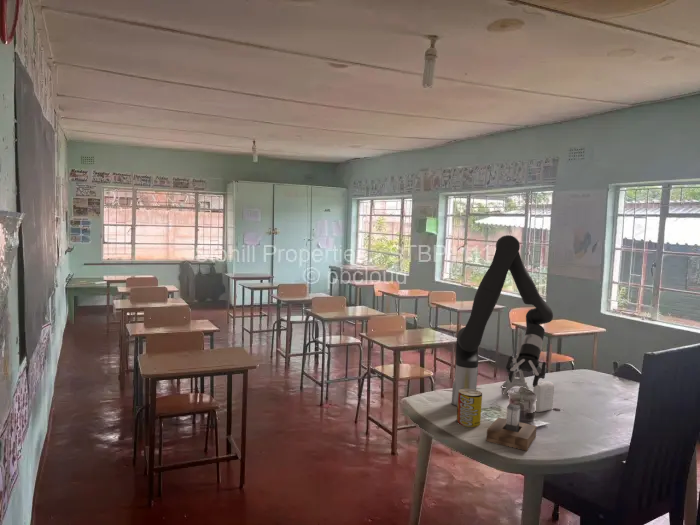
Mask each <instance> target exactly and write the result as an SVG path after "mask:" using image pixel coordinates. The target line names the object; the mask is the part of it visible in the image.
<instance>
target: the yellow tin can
mask: <svg viewBox="0 0 700 525" xmlns="http://www.w3.org/2000/svg"><path fill="white" fill-rule="evenodd" d="M482 402H483V392H482V391H479V389H478V390H477V389H476V390H474V389H460V390H459V392H458V406H456V407H457V408H456V423H457V424H458V425H460V426H463V427H468V428H476V427H479V426H480V425H481V419H482V418H481V416H482V405H483V403H482Z"/></svg>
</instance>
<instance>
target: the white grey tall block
mask: <svg viewBox="0 0 700 525" xmlns="http://www.w3.org/2000/svg"><path fill="white" fill-rule="evenodd" d="M520 414H521V405H518V404H515V403H509V404H508V405H507V407H506V418H505V419H506V430H510V431H514V432H518V431H519V422H520Z"/></svg>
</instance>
